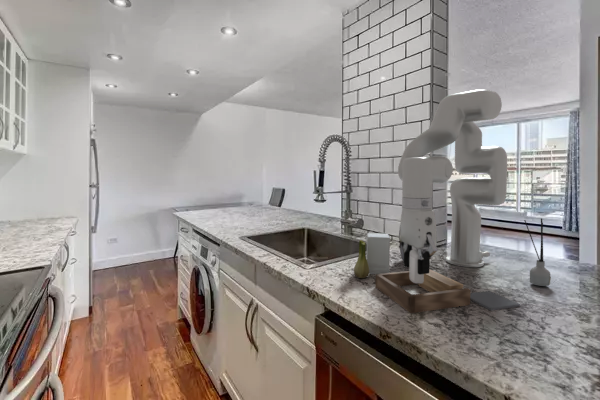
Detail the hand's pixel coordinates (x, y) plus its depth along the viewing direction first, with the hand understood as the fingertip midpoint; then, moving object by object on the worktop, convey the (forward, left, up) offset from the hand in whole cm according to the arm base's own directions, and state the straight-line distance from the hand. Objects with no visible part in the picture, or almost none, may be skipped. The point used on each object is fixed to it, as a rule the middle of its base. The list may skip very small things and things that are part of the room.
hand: (416, 269), depth 82 cm
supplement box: (0, -22, -8) cm, 23 cm away
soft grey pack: (-16, -26, -8) cm, 31 cm away
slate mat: (-16, +8, -7) cm, 20 cm away
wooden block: (-7, 0, -7) cm, 10 cm away
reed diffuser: (-39, +2, -8) cm, 40 cm away
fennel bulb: (+8, -18, -8) cm, 21 cm away
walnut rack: (-1, 0, -7) cm, 7 cm away
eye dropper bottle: (0, 0, -3) cm, 3 cm away
